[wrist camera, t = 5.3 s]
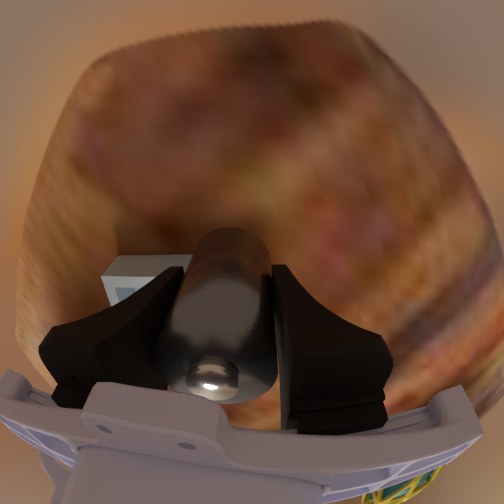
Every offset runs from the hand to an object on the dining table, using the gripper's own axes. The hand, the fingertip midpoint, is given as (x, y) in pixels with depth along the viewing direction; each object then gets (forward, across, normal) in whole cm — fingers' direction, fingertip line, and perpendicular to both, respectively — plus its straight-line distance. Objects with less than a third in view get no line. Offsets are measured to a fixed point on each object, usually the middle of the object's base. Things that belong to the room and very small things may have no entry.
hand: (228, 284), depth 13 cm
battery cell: (+2, 0, 0) cm, 2 cm away
